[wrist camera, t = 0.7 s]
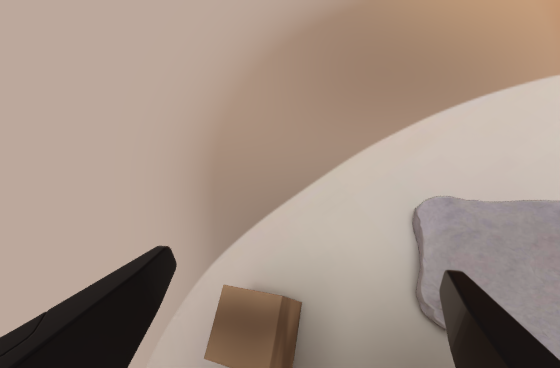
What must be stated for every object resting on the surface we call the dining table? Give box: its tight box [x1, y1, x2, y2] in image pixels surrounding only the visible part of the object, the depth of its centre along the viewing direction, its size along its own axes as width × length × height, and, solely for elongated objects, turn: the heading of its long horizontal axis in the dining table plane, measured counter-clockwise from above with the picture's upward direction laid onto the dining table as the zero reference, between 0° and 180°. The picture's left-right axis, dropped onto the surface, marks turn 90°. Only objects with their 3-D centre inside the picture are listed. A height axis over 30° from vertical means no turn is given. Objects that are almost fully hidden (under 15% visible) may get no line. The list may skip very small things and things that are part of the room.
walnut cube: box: [204, 285, 302, 368], centre depth 21 cm, size 5×5×5 cm
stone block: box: [413, 196, 560, 360], centre depth 18 cm, size 12×5×10 cm
